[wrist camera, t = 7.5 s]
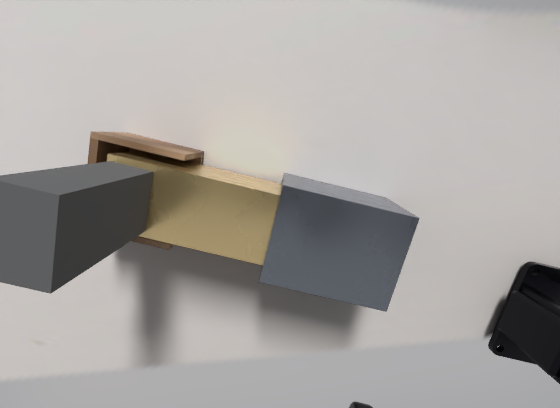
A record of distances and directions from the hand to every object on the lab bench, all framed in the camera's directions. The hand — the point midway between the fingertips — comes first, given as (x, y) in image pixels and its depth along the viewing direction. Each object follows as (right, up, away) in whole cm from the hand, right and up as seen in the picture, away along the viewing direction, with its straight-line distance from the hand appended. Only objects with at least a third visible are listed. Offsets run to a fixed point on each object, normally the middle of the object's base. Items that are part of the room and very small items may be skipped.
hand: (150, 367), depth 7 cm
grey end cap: (+5, +2, +12) cm, 13 cm away
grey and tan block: (-1, +4, +11) cm, 12 cm away
